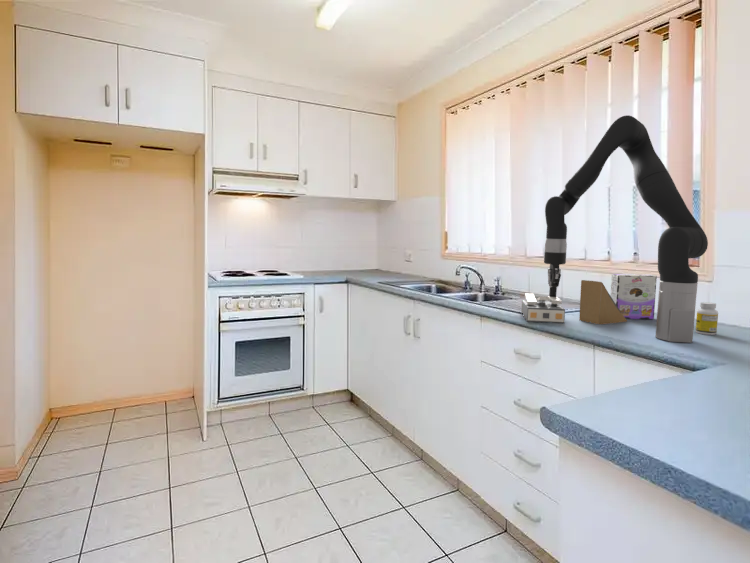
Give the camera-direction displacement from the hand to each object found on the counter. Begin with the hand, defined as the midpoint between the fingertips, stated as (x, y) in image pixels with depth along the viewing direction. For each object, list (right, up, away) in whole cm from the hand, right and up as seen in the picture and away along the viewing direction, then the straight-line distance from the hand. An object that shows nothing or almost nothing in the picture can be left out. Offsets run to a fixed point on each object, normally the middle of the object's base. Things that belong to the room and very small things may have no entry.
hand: (552, 297), depth 167 cm
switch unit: (-5, -8, -2) cm, 10 cm away
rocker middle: (-5, -1, -3) cm, 6 cm away
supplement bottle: (+38, -11, -26) cm, 48 cm away
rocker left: (-9, -1, -2) cm, 9 cm away
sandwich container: (+16, -9, -7) cm, 19 cm away
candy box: (+30, -8, 0) cm, 31 cm away
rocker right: (-1, -2, -4) cm, 4 cm away
